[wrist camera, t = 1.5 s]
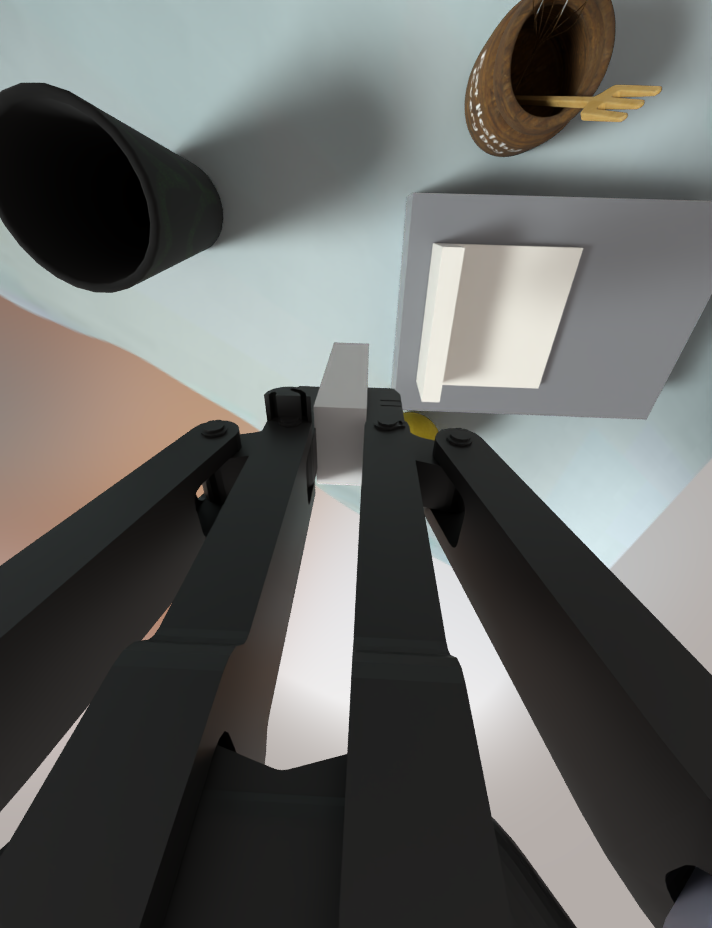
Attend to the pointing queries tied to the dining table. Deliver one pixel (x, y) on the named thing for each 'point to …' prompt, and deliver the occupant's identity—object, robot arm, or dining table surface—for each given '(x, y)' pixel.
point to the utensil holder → (545, 75)
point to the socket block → (571, 296)
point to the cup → (97, 192)
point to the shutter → (492, 314)
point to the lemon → (420, 425)
